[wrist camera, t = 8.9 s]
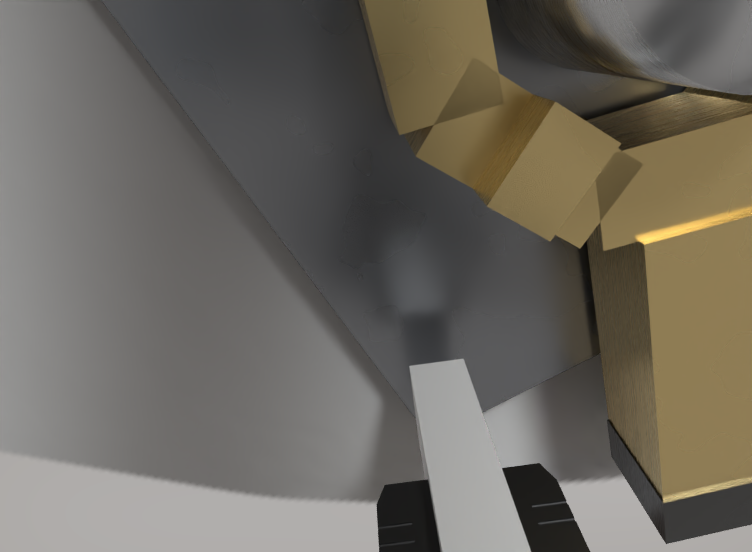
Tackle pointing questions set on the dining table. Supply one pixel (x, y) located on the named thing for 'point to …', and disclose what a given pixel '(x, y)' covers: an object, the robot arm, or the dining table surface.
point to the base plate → (423, 162)
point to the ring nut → (611, 241)
